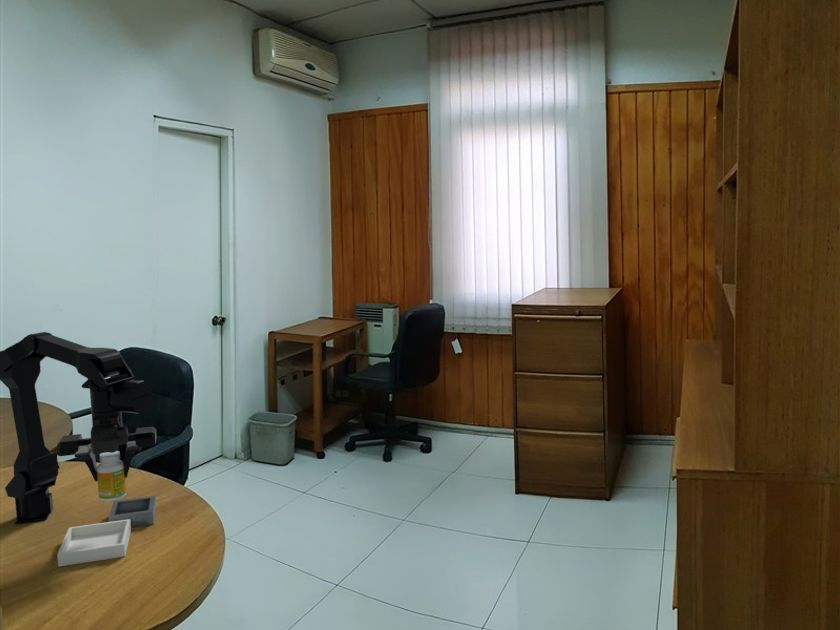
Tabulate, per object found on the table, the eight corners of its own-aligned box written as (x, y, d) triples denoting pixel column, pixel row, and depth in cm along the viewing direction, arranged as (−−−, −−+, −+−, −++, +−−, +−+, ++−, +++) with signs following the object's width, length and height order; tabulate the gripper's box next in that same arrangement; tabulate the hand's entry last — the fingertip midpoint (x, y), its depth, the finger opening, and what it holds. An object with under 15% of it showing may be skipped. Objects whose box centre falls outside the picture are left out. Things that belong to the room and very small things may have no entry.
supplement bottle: (116, 502, 134) (112, 458, 133) (93, 501, 135) (89, 457, 134) (131, 492, 140) (128, 450, 138) (109, 490, 140) (106, 448, 139)
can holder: (109, 530, 140) (108, 517, 139) (114, 513, 148) (113, 501, 148) (153, 524, 143) (152, 511, 142) (156, 507, 151) (155, 495, 151)
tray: (58, 566, 125) (57, 554, 124) (70, 538, 136) (69, 527, 136) (125, 556, 129) (124, 544, 128) (131, 530, 140) (130, 519, 140)
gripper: (49, 424, 124) (55, 500, 126) (152, 414, 131) (156, 486, 133) (59, 409, 134) (65, 480, 136) (154, 401, 141) (158, 468, 143)
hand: (111, 479), depth 137 cm, fingers closed on supplement bottle, 5 cm apart
